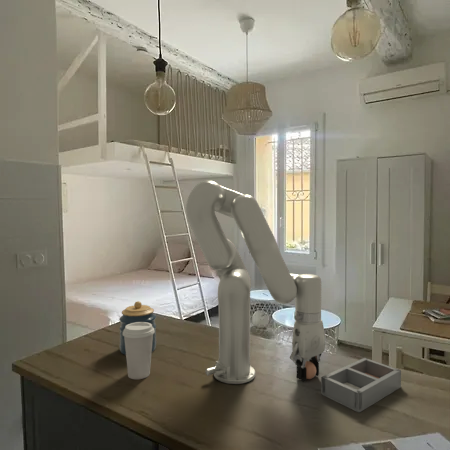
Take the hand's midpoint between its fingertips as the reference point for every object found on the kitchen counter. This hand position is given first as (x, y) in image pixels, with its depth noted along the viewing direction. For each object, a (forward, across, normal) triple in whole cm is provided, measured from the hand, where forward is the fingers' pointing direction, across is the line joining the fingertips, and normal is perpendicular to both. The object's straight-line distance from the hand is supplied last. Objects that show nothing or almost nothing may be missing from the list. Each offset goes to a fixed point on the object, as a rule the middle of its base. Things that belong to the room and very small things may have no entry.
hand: (307, 376), depth 104 cm
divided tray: (+1, +6, -14) cm, 15 cm away
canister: (+1, -31, +52) cm, 61 cm away
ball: (-2, 0, 0) cm, 2 cm away
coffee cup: (+1, -39, +33) cm, 51 cm away
